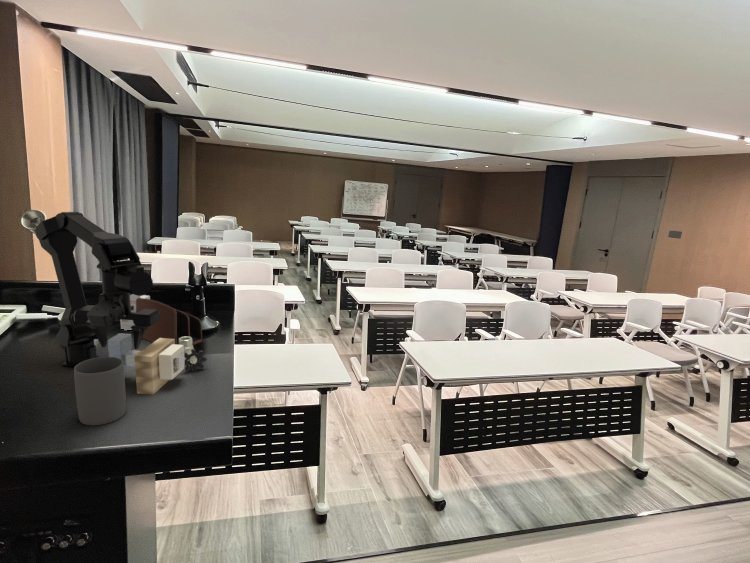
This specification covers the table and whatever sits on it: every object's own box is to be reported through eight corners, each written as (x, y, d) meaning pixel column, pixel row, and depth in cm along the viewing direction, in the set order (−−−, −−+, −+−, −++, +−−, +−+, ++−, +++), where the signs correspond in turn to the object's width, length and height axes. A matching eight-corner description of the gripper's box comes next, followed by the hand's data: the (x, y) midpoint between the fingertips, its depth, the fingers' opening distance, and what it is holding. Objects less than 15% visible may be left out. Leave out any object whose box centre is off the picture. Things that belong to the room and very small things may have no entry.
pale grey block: (110, 373, 108) (107, 340, 106) (121, 365, 113) (119, 333, 111) (177, 378, 108) (176, 344, 106) (186, 369, 113) (185, 337, 111)
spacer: (159, 379, 107) (158, 354, 106) (173, 367, 114) (172, 344, 113) (171, 379, 107) (170, 355, 106) (184, 368, 114) (183, 344, 113)
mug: (133, 416, 96) (129, 366, 93) (85, 431, 89) (80, 378, 87) (112, 393, 105) (108, 347, 102) (67, 405, 98) (62, 356, 95)
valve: (172, 359, 126) (181, 374, 117) (171, 337, 125) (180, 352, 115) (196, 354, 130) (207, 370, 121) (195, 334, 129) (206, 348, 119)
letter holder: (175, 351, 132) (173, 307, 128) (136, 337, 141) (133, 295, 138) (202, 342, 140) (201, 300, 137) (163, 329, 149) (162, 290, 146)
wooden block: (137, 393, 105) (134, 355, 103) (161, 372, 117) (159, 337, 115) (153, 394, 105) (151, 356, 103) (176, 373, 117) (174, 338, 115)
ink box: (152, 328, 149) (150, 286, 146) (142, 332, 144) (140, 290, 141) (130, 325, 150) (127, 284, 147) (120, 329, 146) (117, 287, 142)
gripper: (54, 294, 98) (60, 357, 101) (136, 299, 98) (139, 363, 101) (86, 282, 109) (91, 341, 112) (160, 287, 109) (163, 345, 112)
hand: (120, 347), depth 109 cm, fingers open, 8 cm apart
